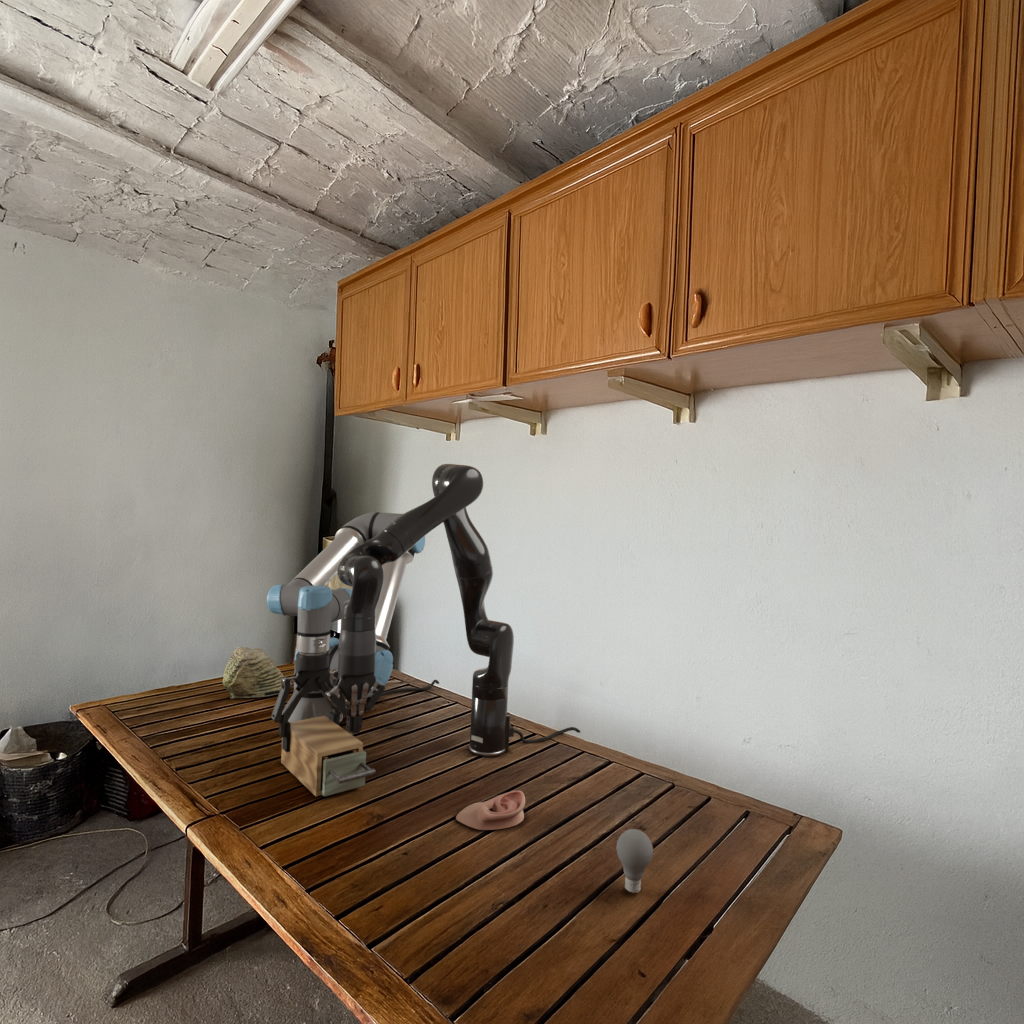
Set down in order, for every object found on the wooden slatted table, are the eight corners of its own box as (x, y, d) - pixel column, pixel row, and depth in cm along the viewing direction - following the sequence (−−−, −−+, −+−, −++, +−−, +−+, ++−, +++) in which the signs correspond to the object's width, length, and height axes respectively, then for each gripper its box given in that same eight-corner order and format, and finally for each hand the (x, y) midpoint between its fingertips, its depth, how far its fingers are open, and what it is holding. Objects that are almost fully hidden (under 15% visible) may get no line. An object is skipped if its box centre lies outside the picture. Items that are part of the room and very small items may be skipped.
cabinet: (361, 784, 140) (363, 742, 140) (315, 796, 134) (317, 753, 133) (323, 752, 156) (324, 715, 156) (281, 762, 150) (282, 723, 149)
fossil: (218, 695, 195) (220, 647, 195) (278, 685, 208) (279, 640, 207) (228, 703, 189) (230, 653, 188) (289, 692, 201) (290, 645, 201)
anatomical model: (452, 805, 124) (467, 780, 135) (451, 826, 124) (467, 799, 135) (518, 815, 121) (529, 789, 132) (517, 836, 121) (528, 808, 132)
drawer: (377, 795, 133) (378, 761, 133) (335, 807, 127) (337, 771, 127) (328, 755, 153) (329, 725, 152) (290, 764, 147) (291, 732, 147)
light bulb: (610, 879, 108) (613, 822, 108) (644, 879, 109) (647, 822, 109) (619, 902, 102) (622, 840, 102) (655, 901, 103) (658, 840, 103)
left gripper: (269, 661, 139) (265, 761, 140) (364, 649, 154) (361, 739, 154) (257, 654, 145) (254, 750, 146) (351, 643, 160) (347, 730, 160)
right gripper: (334, 657, 125) (331, 745, 125) (394, 650, 133) (391, 731, 133) (319, 649, 130) (316, 733, 131) (377, 642, 139) (374, 721, 139)
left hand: (309, 744), depth 150 cm, fingers closed on cabinet, 10 cm apart
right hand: (354, 732), depth 132 cm, fingers closed
